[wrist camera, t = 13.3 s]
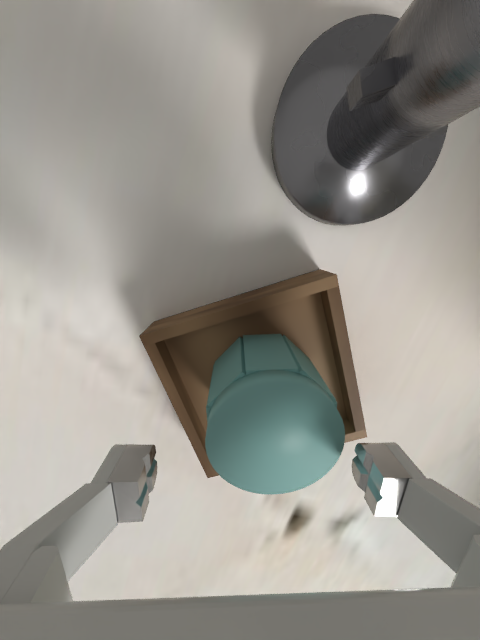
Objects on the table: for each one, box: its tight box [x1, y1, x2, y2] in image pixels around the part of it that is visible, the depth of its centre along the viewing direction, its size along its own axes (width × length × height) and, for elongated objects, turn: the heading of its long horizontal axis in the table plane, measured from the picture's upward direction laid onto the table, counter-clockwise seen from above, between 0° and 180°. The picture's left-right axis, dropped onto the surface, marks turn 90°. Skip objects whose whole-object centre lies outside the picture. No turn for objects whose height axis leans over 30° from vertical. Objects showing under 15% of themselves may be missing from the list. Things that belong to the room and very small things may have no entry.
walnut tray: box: [139, 269, 367, 478], centre depth 15 cm, size 10×10×2 cm
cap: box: [205, 334, 345, 494], centre depth 12 cm, size 6×6×5 cm
